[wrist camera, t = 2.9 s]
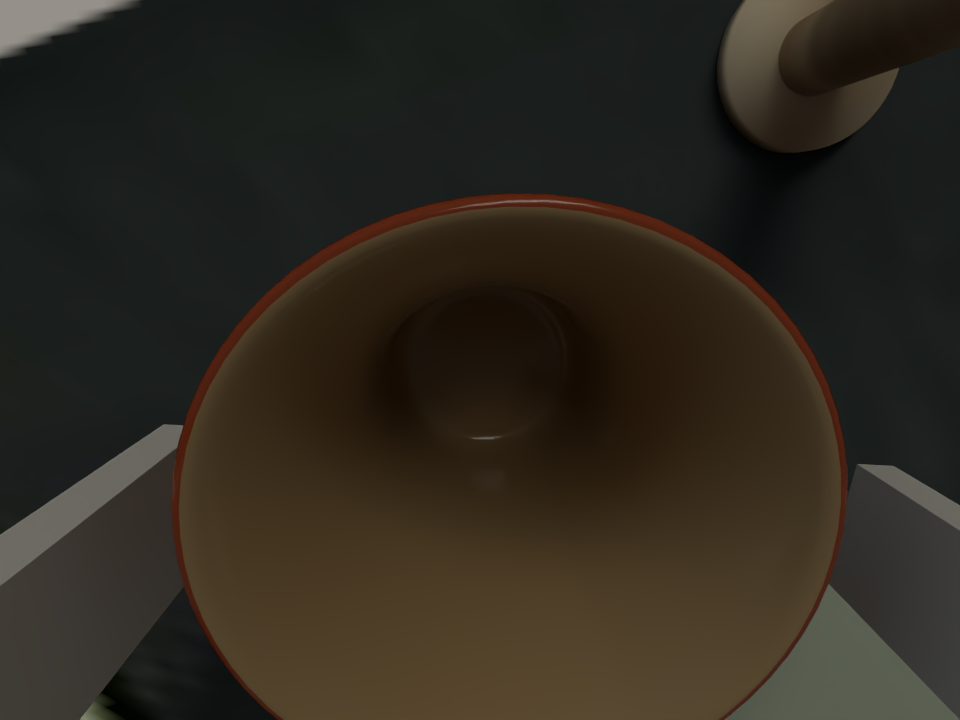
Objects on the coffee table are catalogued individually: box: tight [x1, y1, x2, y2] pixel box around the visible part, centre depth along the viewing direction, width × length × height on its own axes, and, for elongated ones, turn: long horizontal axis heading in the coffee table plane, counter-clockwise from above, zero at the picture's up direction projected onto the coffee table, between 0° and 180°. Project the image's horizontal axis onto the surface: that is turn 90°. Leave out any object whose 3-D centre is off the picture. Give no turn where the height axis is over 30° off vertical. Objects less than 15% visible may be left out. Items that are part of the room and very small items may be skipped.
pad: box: [725, 584, 960, 720], centre depth 20 cm, size 11×11×1 cm
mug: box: [171, 193, 847, 720], centre depth 12 cm, size 12×9×10 cm
